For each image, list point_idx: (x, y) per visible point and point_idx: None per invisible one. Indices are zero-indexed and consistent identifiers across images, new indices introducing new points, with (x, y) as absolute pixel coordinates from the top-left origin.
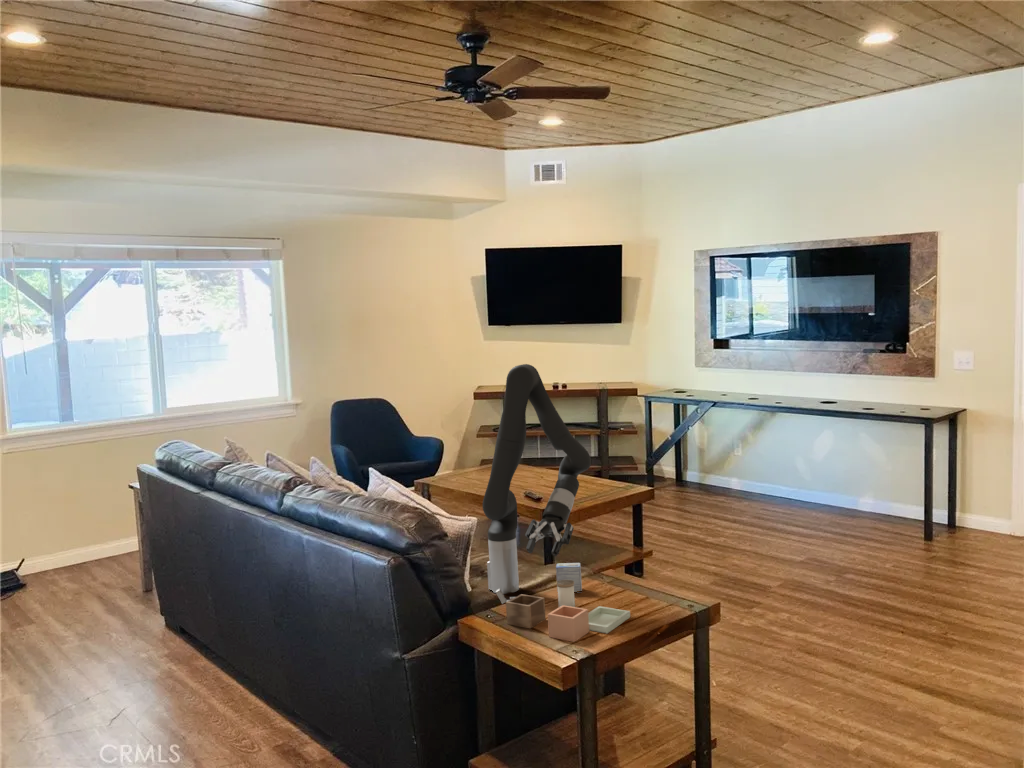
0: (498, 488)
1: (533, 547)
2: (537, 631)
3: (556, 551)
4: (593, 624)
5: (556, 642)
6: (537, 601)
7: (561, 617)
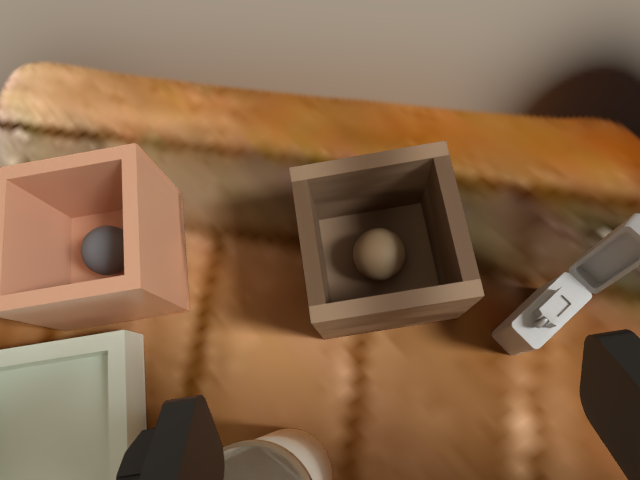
0: None
1: (636, 475)
2: (278, 230)
3: (135, 446)
4: (27, 349)
5: None
6: (303, 251)
7: (59, 159)
